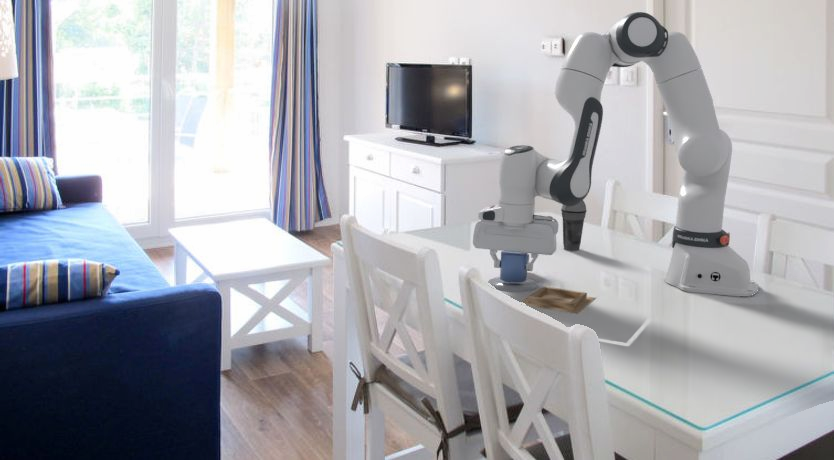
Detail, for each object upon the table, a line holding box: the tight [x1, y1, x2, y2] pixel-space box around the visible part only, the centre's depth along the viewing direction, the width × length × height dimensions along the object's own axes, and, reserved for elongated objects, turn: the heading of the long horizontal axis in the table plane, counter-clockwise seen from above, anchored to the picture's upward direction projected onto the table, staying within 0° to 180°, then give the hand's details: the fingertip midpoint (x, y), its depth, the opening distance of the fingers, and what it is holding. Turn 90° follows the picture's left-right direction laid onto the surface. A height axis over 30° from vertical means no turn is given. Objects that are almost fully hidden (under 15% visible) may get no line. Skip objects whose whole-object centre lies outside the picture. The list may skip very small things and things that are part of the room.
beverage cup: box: [560, 199, 588, 252], centre depth 255 cm, size 7×7×20 cm
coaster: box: [487, 276, 538, 293], centre depth 217 cm, size 12×12×1 cm
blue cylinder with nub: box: [499, 251, 530, 283], centre depth 218 cm, size 10×6×6 cm
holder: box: [520, 285, 597, 315], centre depth 205 cm, size 14×14×2 cm
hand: (513, 268), depth 216 cm, fingers closed on blue cylinder with nub, 6 cm apart
